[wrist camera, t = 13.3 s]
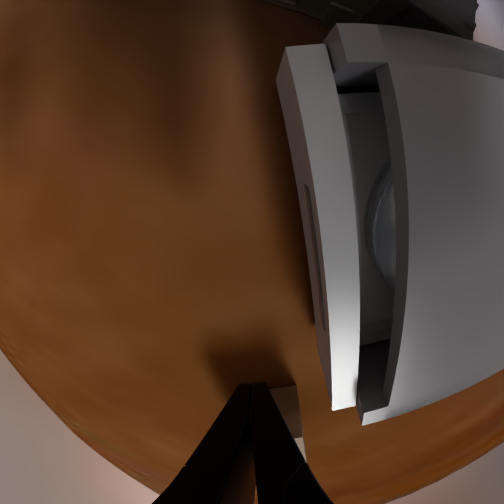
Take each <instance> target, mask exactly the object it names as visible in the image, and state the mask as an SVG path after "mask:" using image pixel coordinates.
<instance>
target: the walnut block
mask: <svg viewBox="0 0 504 504" xmlns="http://www.w3.org/2000/svg"><path fill="white" fill-rule="evenodd" d="M270 391H271V393H272V396H273V398H274V400H275V402H276V404H277V406H278V408H279V410H280V412H281V414H282V416H283V418H284V420H285V422H286V424H287V426H288V428H289V430H290V432H291V434H292V436H293V437H294V439H295V441H296V443H297V445H298V447H299V449H300V451H301V453H302V455H303V457H304V459H305V460H306V451H305V442H304V434H303V425H302V417H301V411H300V404H299V398H298V392H297V386H296V385H293V386H287V387H280V388H273V389H270ZM306 463H307V461H306Z"/></svg>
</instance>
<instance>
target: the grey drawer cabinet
mask: <svg viewBox="0 0 504 504" xmlns="http://www.w3.org/2000/svg"><path fill="white" fill-rule="evenodd" d="M321 44H325V45H326V48H327V52H328V56H329V60H330V64H331V68H332V72H333V76H334V80H335V85H336V89H337V94H351V93H373V92H380V94H381V99H382V104H383V109H384V115H385V121H386V127H387V133H388V140H389V148H390V156H391V165H392V175H393V187H394V202H395V224H396V272H395V295H394V310H393V321H392V332H391V338H390V339H386V340H382V341H379V342H375V343H371V344H367V345H363V346H359V364H358V380H357V393H356V407H357V410H358V413H359V417H360V420H361V424H362V426H363V425H367V424H370V423H374V422H378V421H381V420H384V419H388V418H391V417H394V416H397V415H400V414H403V413H406V412H409V411H412V410H415V409H418V408H420V407H423V406H426V405H428V404H431V403H433V402H436V401H438V400H441V399H443V398H446V397H448V396H450V395H452V394H455V393H457V392H459V391H461V390H463V389H465V388H468V387H470V386H472V385H474V384H476V383H478V382H480V381H482V380H484V379H485V378H487V377H489V376H491V375H493V374H495V373H496V372H498V371H500V370H502V369H503V368H504V51H503V50H500V49H497V48H494V47H491V46H488V45H485V44H482V43H479V42H475V41H472V40H468V39H464V38H460V37H456V36H452V35H448V34H443V33H438V32H433V31H428V30H422V29H415V28H408V27H400V26H391V25H379V24H361V23H336V24H335V25H334V27H333V28H332V30H331V31H330V32H329V34H328V35H327V36H326V38H325V39H324V41H323V42H322V43H321Z"/></svg>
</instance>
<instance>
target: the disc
mask: <svg viewBox="0 0 504 504" xmlns="http://www.w3.org/2000/svg"><path fill="white" fill-rule="evenodd" d="M364 235H365V243H366V248H367V252H368V255H369V258H370V260H371V262H372V264H373V266H374V268H375V269H376V271H377V272H378V274H379V275H380V276H381V278H382V279H383V280H384V282H385V283H386V284H387V286H388V287H389V289H390V290H391V291H392V293H393V294H394V295H395V272H396V224H395V202H394V187H393V175H392V165H391V157H390V158H389V159H388V161H387V162H386V163H385V164H384V166H383V167H382V169H381V170H380V171H379V173H378V175H377V177H376V179H375V181H374V183H373V185H372V188H371V190H370V193H369V197H368V200H367V204H366V210H365V216H364Z"/></svg>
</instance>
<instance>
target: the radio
mask: <svg viewBox="0 0 504 504" xmlns="http://www.w3.org/2000/svg"><path fill="white" fill-rule="evenodd" d="M261 1H264V2H268V3H271V4H274V5H277V6H281V7H284V8H287V9H290V10H294V11H300V12H302V13H305V14H308V15H310V16H313V17H315V18H318V19H320V20H321V21H320V23H319V25H321V26H323V27H326V28H328V29H330V30H332V28H333V27H334V25H335V24H336V23H361V24H379V25H391V26H400V27H408V28H415V29H422V30H428V31H433V32H438V33H443V34H448V35H452V36H456V37H460V38H464V39H468V40H472V41H473V32H474V30H475V27H476V23H475V13H476V10H477V8H478V6H479V5H478V3H477V0H261Z"/></svg>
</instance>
